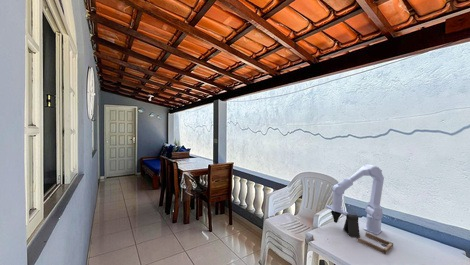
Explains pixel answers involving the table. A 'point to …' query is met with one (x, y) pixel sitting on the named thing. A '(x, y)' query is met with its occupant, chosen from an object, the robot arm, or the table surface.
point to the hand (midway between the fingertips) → (335, 222)
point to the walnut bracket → (385, 250)
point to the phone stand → (352, 226)
